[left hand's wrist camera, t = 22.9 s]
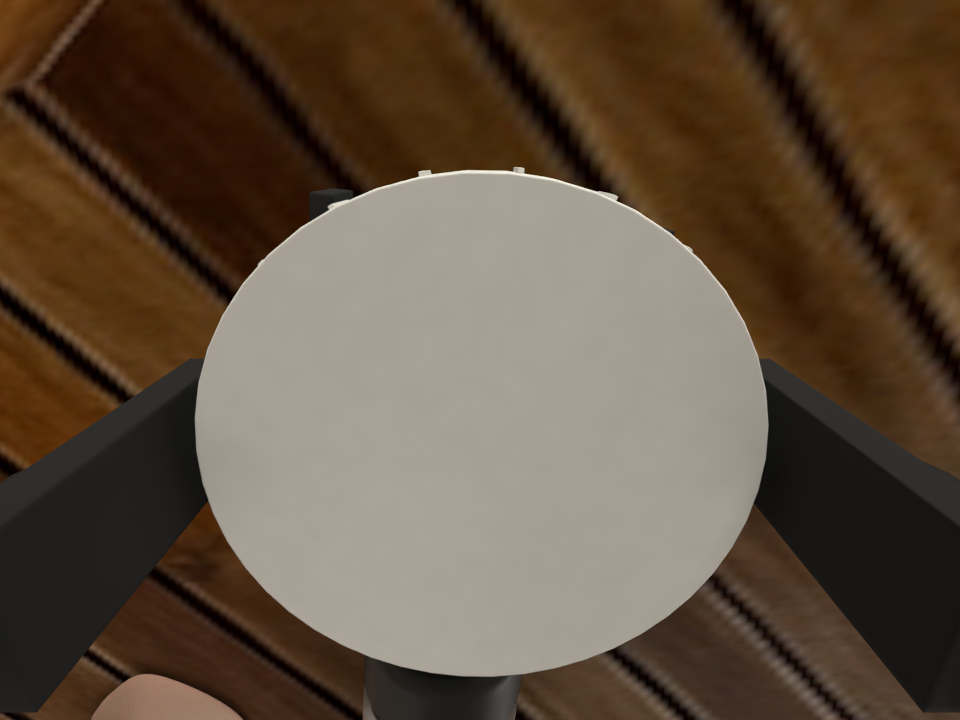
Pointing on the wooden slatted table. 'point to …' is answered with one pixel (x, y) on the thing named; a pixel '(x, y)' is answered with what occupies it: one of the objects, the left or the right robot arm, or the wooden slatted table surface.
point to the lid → (481, 423)
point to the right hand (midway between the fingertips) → (493, 208)
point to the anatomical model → (161, 702)
